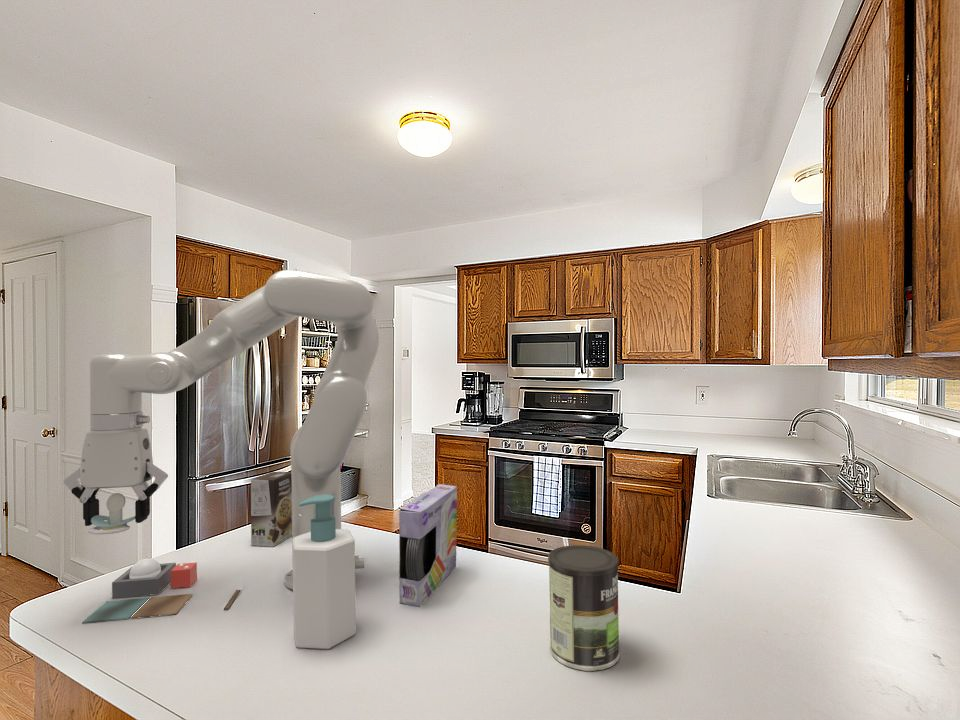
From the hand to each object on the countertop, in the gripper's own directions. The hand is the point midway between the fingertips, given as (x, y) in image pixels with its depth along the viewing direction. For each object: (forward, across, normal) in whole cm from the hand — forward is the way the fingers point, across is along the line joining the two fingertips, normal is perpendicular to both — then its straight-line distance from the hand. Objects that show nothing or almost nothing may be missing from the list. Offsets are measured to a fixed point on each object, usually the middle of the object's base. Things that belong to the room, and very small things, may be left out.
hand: (117, 521), depth 91 cm
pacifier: (+1, 0, +2) cm, 2 cm away
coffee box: (+16, -20, -32) cm, 41 cm away
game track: (+16, -8, 0) cm, 18 cm away
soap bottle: (+16, -37, +16) cm, 44 cm away
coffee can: (+16, -76, +29) cm, 83 cm away
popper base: (+16, -3, -10) cm, 19 cm away
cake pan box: (+16, -55, +2) cm, 58 cm away
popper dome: (+16, 0, -9) cm, 18 cm away
